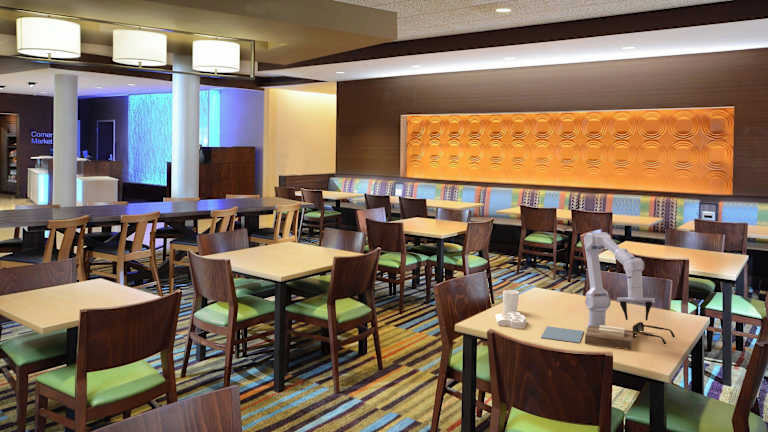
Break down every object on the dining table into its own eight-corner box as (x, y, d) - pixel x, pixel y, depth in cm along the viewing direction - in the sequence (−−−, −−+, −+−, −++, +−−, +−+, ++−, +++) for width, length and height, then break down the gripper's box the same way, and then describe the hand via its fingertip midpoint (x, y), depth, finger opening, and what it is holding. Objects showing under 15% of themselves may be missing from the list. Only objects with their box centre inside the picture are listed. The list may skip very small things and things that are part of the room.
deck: (587, 332, 270) (588, 325, 270) (631, 338, 263) (631, 330, 263) (584, 343, 255) (585, 335, 255) (630, 349, 248) (631, 341, 248)
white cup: (518, 309, 307) (519, 290, 306) (517, 313, 299) (518, 294, 298) (502, 308, 309) (503, 289, 308) (501, 312, 302) (502, 292, 300)
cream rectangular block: (599, 329, 263) (599, 325, 263) (624, 332, 260) (624, 328, 259) (598, 333, 257) (598, 329, 257) (623, 337, 253) (624, 332, 253)
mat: (547, 327, 278) (547, 326, 278) (583, 331, 272) (583, 330, 272) (541, 338, 261) (541, 337, 261) (579, 343, 255) (579, 342, 255)
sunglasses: (666, 346, 255) (667, 334, 254) (629, 338, 264) (629, 327, 264) (674, 338, 266) (675, 327, 265) (639, 331, 275) (639, 320, 275)
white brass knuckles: (494, 317, 294) (525, 318, 292) (498, 328, 276) (530, 329, 274) (494, 310, 293) (525, 312, 292) (498, 321, 275) (531, 322, 274)
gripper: (616, 288, 252) (617, 320, 252) (654, 288, 247) (655, 321, 246) (616, 286, 259) (618, 318, 258) (653, 286, 253) (655, 319, 253)
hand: (636, 319), depth 253 cm, fingers open, 7 cm apart
